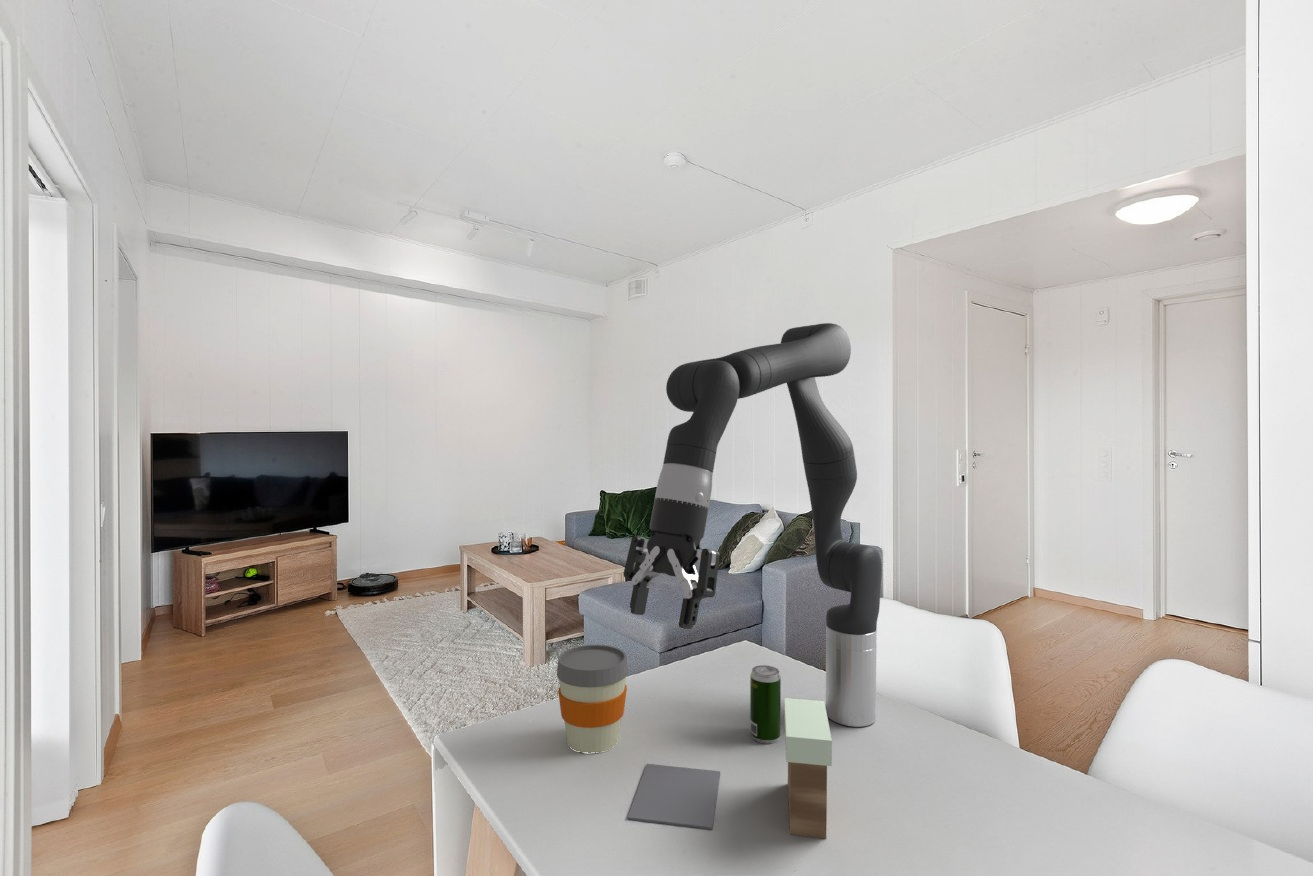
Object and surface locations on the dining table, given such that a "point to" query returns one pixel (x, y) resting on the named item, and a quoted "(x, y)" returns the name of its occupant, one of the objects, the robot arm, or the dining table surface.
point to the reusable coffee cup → (592, 695)
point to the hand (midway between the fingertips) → (660, 621)
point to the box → (807, 799)
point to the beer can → (765, 704)
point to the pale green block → (807, 732)
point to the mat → (676, 796)
